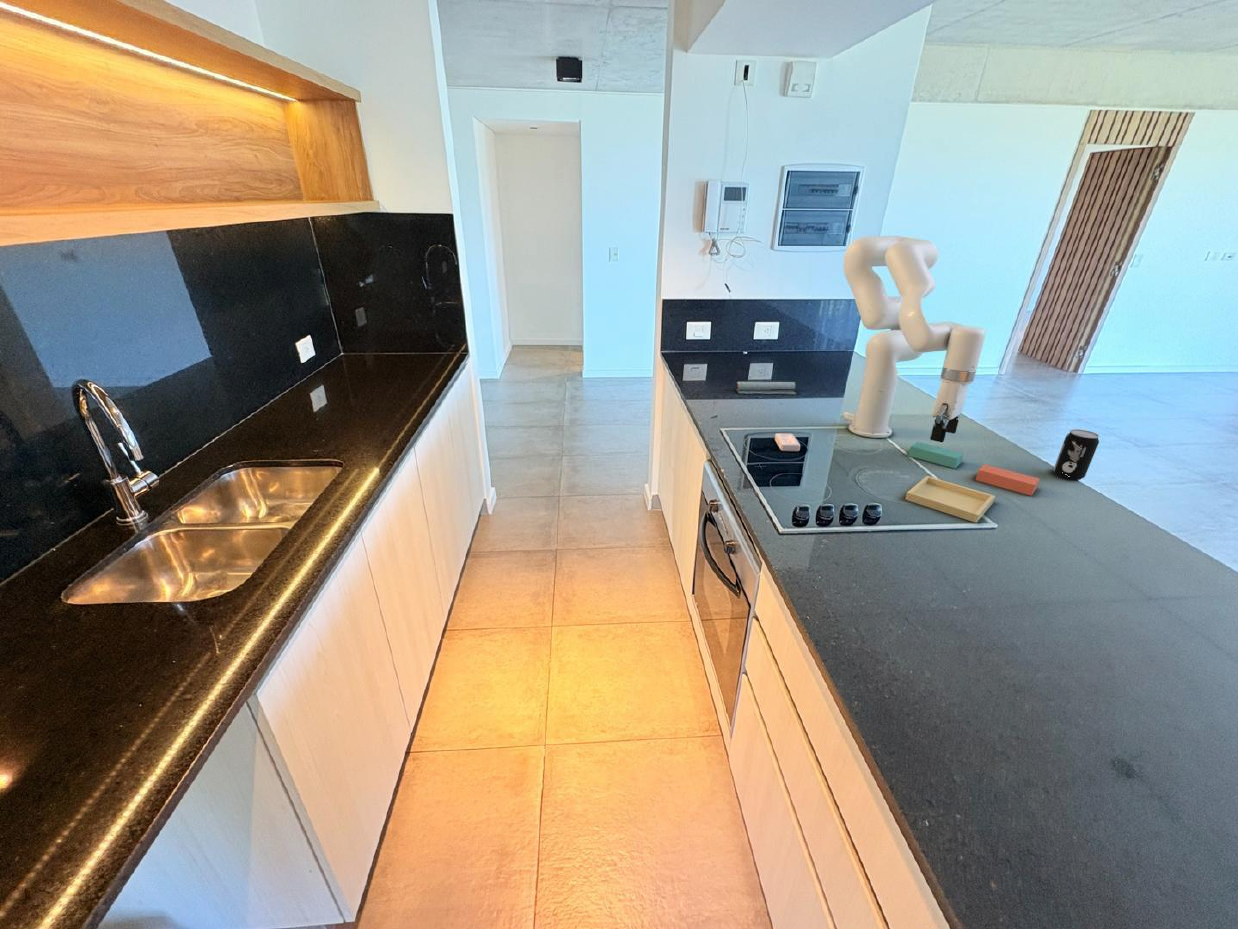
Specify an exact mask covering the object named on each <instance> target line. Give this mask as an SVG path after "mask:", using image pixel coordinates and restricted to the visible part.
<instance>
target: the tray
mask: <svg viewBox="0 0 1238 929" xmlns="http://www.w3.org/2000/svg"><path fill="white" fill-rule="evenodd" d="M995 497H996V496H995V495H994V494H990V493H987V492H983V491H981V490H976V489H973V488H970V487H966V486H963V485H959V484H956V483H954V482H953V483H952V482H949V481H946V480H942V479H939V478H935V477H932V476H929V475H926V476H924V478H922V479H921V480H920V481H918V482H917V483H916V484H915V485H914V486H913V487H912V488H911V489H909V490H908V491H907V492H906V494H905V499H904V500H906V501H908V502H912V503H914V504H918V505H921V506H924V507H927V508H930V509H933V510H935V511H939V512H942V513H945V514H948V515H950V516H953V517H957V518H959V519H963V520H966V521H969V522H972V523H975V524H976V523H978V521H979V520H980V519H981V518H982V517H983V515H985V513H986V512H987V511H988V510H989V508H990V507H991V506H992V505H993V503H994V501H995Z"/></svg>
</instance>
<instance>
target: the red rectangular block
mask: <svg viewBox="0 0 1238 929" xmlns="http://www.w3.org/2000/svg"><path fill="white" fill-rule="evenodd" d="M975 477H976V478H975V481H977V482H979V483H980V482H981V483H985V484H988V485H991V486H993V487H994V486H995V487H998V488H1002V489H1006V490H1009V491H1013V492H1016V493H1020V494H1023V495H1025V496H1029V497H1030V496H1031V497H1032V496H1033V495H1034V493H1035V491H1036V490H1037V487H1038V485H1039V482H1040V478H1038V477H1036V476H1035V477H1034V476H1030V475H1027V474H1023V473H1020V472H1015V471H1011V470H1007V469H1004V468H1000V467H995V466H992V465H988V464H983V465H982V466H981V467H980V468H979V469H978V471H977V474H976V476H975Z"/></svg>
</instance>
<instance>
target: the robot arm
mask: <svg viewBox="0 0 1238 929" xmlns="http://www.w3.org/2000/svg"><path fill="white" fill-rule="evenodd" d="M938 253H939V252H938V248H937V247H936V245H935V243H933V242H932V241H930V240H929V239H921V238H920V239H919V238H913V237H907V236H901V235H870V236H869V235H868V236H863V237H859V238H856V239H854V240H853V241H852V242H851V243H850V244H849V245H848V246H847V247H846V250H845V253H844V256H843V263H842V264H843V265H842V266H843V268H842V269H843V272H844V276H845V278H846V280H847V284H848V285H849V287H850V288H851V291H852V295H853V298H854V302H855V305H856V307H857V310H858V313H859V317H860V320H861V322H862V325H863V326H864V327H865V329H867V330H871V331H879V332H877V333H875V334H873V335H872V336H870V337H869V339H868V340H867V342H866V344H865V366H864V374H863V380H862V383H861V384H862V385H861V388H860V394H859V400H858V406H857V410H856V413H852V412H847V411H845V412H844V413H843V420H844V421H849V422H850V423H849V424H848V430H849V431H850V432H851V433H853V434H855V435H858V436H861V437H866V438H871V439H872V438H873V439H884V438H887V437H888V438H889V437H891V435H892V433H893V429H892V428H891V427H889V422H890V417H891V412H892V409H893V408H892V407H893V403H894V401H895V400H894V399H895V395H896V390H897V385H898V380H899V372H898V368H897V363H902V362H908V361H914V360H917V359H918V358H920V357H921V356H922V355H923V354H924V353H933V352H943V351H945V356H944V360H943V366H942V368H941V373H940V377H939V380H940V381H941V383H940V386H939V388H938V392H937V395H936V398H935V402H934V406H933V409H932V412H931V417H933V418H934V420H933V421H934V422H933V424H932V429H931V434H930V437H929V439H930V441H934V442H938V443H944V441H945V438H946V435H947V433H948V434H956V432H957V429H958V424H959V421H960V420H959V419H960V416H961V413H962V412H963V410H964V406H965V402H966V399H967V394H968V390H969V385H971V384H973V383H974V381H975V377H976V373H977V369H978V365H979V362H980V357H981V354H982V350H983V345H984V343H985V342H984V341H985V338H986V330H985V329H984V328H981V327H978V326H969V325H964V324H961V323H958V322H954V321H941V322H940V321H938V322H928V321H927V320H928V319H927V318H926V316H925V314H924V312H923V308H922V302H923V299H925V298H926V297H928V296H930V294H931V293H932V292H933V291H934V290H935V287H936V282H935V279H934V278H933V275H932V273H931V272H930V269H932V268H933V267H934V266H935V264H936V262H937V261H938V258H939V256H938V255H939V254H938ZM873 267H886V268H887V269H888V272H889V273H890V276H891V277H892V280H893V282H894V284H895V286H896V289H897V291H898V294H899V295H900V296H899V295H898V296H890V295H888V292H887V291H886V288H885V285H884V282H883V280H882V278H881V277H880V276H879V274H878V273H877V272H876V271H875V270H874V269H873ZM880 330H881V331H880Z"/></svg>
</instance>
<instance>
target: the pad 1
mask: <svg viewBox="0 0 1238 929" xmlns="http://www.w3.org/2000/svg"><path fill="white" fill-rule="evenodd" d="M963 456H964V453H963V452H959V451H956V450H951V449H949V448H948V449H947V448H943V447H940V446H936V445H932V444H929V443H925V442H920V441H916V442H915V443H913V444H912V445H911V446H910V448H909V452H908V457H912V458H916V459H920V460H923V461H926V462H930V463H933V464H937V465H940V466H943V467H947V468H952V469H956V468H957V467H958V466H960V464H962V460H963Z"/></svg>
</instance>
